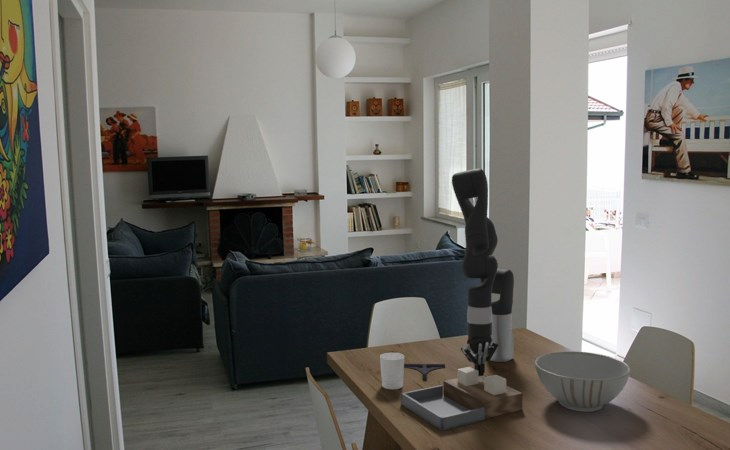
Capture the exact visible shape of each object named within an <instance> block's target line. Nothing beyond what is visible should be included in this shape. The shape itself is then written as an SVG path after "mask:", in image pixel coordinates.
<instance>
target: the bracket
mask: <svg viewBox="0 0 730 450" xmlns="http://www.w3.org/2000/svg"><path fill="white" fill-rule="evenodd" d="M405 368H406V369H411V370H414V371H418V372H419V373H421V374H422V380H423V381H428V375H427V374H428V373H430V372H432V371H435V370H441V369H446V364H445V363H404V369H405Z"/></svg>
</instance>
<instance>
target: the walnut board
mask: <svg viewBox="0 0 730 450" xmlns="http://www.w3.org/2000/svg"><path fill="white" fill-rule="evenodd" d="M484 377H488V375H483V376H478V384H474V385H469V386H465V385H463V384H461V383H459V382H458V379H457V377H455V378H451V379H447V380H443V395H444V396H446V397H447V398H449V399H451V400H453V401H455V402H456V403H458V404H460V405H462V406H464V407H465V408H467V409H469V410H473V409H478V408H482V407H483V408H485V419H491V418H494V417H497V416H501V415H506V414H510V413H514V412H515V413H516V412H519V411H523V394H524V393H523V392H521V391H519V390H518V389H517V390H516V389H514V388H512V387H510V386H508V385H506V393H501V394H497V395H492V394H490V393H488V392H486V391H484Z"/></svg>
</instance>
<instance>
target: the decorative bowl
mask: <svg viewBox="0 0 730 450" xmlns="http://www.w3.org/2000/svg"><path fill="white" fill-rule="evenodd" d="M534 366H535V370H536V374H537V376H538V379H539V380H540V383H542V385H543V387H544V388H545V390H546V391H547V392H548V393H549V394H550V396H552V397H553V398H554V399H556V400H557V401H559V405H560V406H561V407H563V408H565V409H567V410H571V411H574V412H575V411H576V412H582V413H590V412H591V413H592V412H598V411H600V410H602V409H603V407H604V405H606V404H608V403H611V402H612V401H613V400H615V399H616V398H617V397H618V396H619V395H620V394H621V392H622V391H623V390H624V388H625V386H626V385H627V383H628V380H629V378H630V375H631V367H630V366H629V365H628V364H627V363H626V362H624V361H622V360H620V359H617V358H616V357H613V356H610V355H606V354H605V355H604V354H601V353H594V352H586V351H574V350H573V351H571V350H570V351H569V350H568V351H565V350H564V351H554V352H548V353H544V354H541V355H540V356H538V357H536V358H535V360H534Z"/></svg>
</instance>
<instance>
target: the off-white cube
mask: <svg viewBox="0 0 730 450" xmlns="http://www.w3.org/2000/svg"><path fill="white" fill-rule="evenodd" d="M506 386H507V379H506V378H505V377H503V376H500V375H498V374H492V375H487V377H484V391H486V392H488V393H490V394H492V395H497V394H501V393H506Z"/></svg>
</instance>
